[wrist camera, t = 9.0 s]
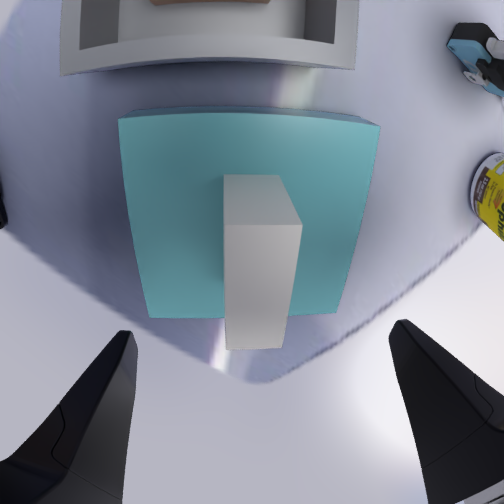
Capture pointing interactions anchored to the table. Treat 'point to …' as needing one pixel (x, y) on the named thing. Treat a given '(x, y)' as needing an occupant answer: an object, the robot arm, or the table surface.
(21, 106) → the table surface
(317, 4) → the storage box
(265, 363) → the table surface
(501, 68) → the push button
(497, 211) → the supplement bottle
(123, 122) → the lid
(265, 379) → the table surface
